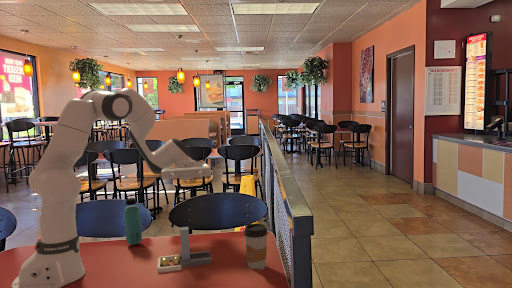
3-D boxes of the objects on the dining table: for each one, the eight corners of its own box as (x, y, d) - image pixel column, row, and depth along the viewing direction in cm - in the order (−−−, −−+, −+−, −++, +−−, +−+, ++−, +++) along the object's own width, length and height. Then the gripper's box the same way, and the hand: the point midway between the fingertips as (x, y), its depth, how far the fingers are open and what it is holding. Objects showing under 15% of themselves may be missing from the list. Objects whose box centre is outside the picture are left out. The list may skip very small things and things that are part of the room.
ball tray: (157, 275, 135) (157, 268, 134) (158, 263, 144) (158, 256, 144) (181, 272, 136) (180, 265, 136) (180, 260, 146) (180, 254, 146)
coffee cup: (240, 268, 138) (238, 227, 136) (256, 260, 144) (254, 221, 142) (257, 275, 133) (256, 233, 131) (273, 266, 139) (272, 226, 137)
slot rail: (181, 270, 138) (180, 262, 138) (180, 261, 145) (180, 254, 145) (211, 266, 140) (211, 258, 140) (209, 258, 147) (209, 250, 147)
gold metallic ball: (160, 267, 139) (160, 259, 139) (160, 265, 142) (161, 257, 142) (168, 267, 139) (169, 259, 139) (169, 265, 142) (169, 257, 142)
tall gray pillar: (182, 265, 140) (180, 230, 138) (181, 260, 144) (179, 227, 142) (190, 264, 140) (188, 229, 139) (190, 259, 144) (188, 226, 143)
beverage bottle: (137, 248, 159) (134, 201, 157) (123, 247, 161) (119, 200, 158) (145, 242, 166) (142, 196, 163) (131, 241, 167) (127, 196, 164)
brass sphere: (171, 261, 140) (177, 255, 141) (170, 260, 143) (177, 254, 143) (176, 267, 140) (183, 261, 141) (176, 266, 143) (182, 260, 144)
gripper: (160, 164, 165) (159, 170, 152) (208, 160, 169) (211, 166, 156) (161, 178, 166) (160, 185, 153) (209, 174, 170) (212, 181, 157)
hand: (186, 176), depth 154 cm, fingers open, 8 cm apart
